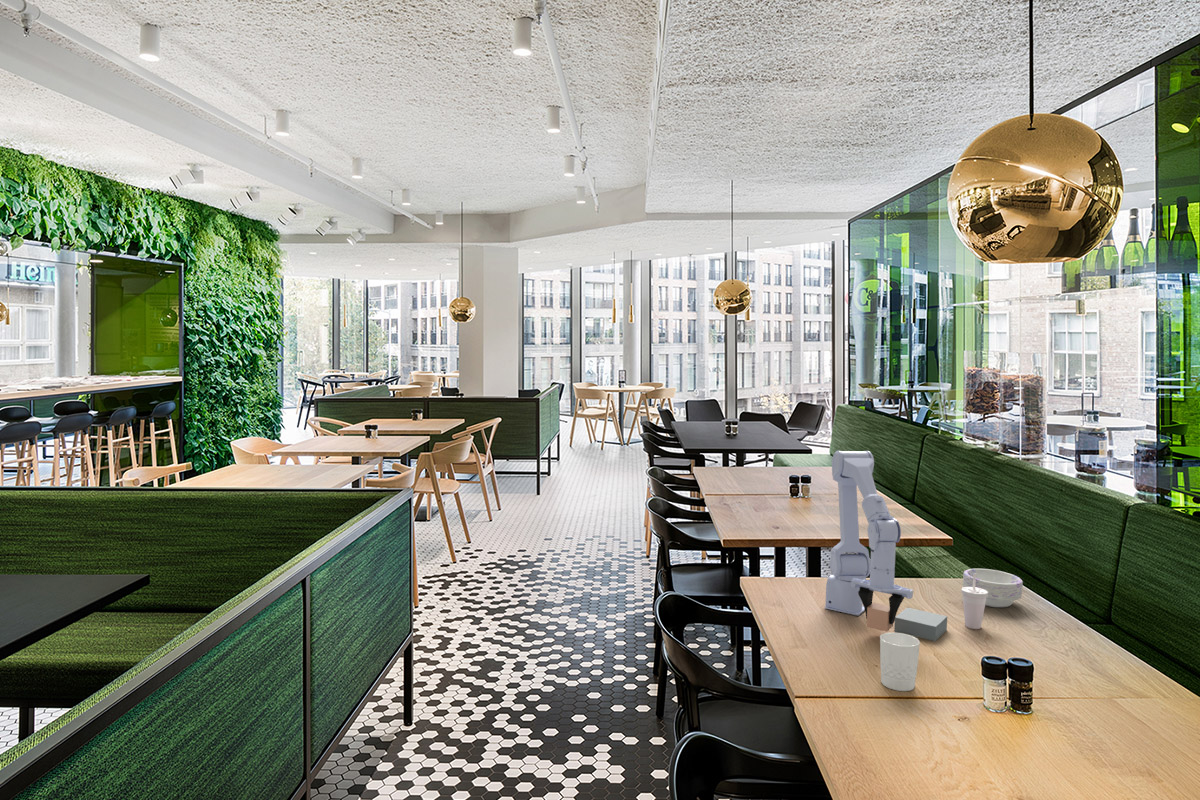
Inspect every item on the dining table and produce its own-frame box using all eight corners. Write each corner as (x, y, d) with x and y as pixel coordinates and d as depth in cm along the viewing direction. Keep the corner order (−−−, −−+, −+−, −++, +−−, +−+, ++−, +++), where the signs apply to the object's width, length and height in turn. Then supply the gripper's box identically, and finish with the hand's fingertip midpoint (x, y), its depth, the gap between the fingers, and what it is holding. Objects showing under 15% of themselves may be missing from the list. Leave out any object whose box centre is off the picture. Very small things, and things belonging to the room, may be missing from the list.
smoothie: (980, 622, 202) (983, 570, 201) (990, 631, 196) (993, 578, 195) (955, 621, 203) (958, 569, 202) (964, 630, 196) (967, 576, 196)
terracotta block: (866, 627, 191) (867, 607, 190) (872, 621, 195) (873, 602, 194) (887, 631, 188) (887, 611, 187) (893, 625, 192) (893, 606, 191)
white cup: (916, 680, 166) (918, 635, 165) (918, 695, 158) (920, 648, 158) (877, 674, 168) (879, 630, 168) (878, 689, 161) (880, 643, 160)
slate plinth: (894, 632, 195) (894, 617, 195) (906, 622, 203) (907, 607, 203) (935, 642, 189) (935, 626, 189) (946, 631, 197) (947, 616, 196)
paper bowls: (1032, 612, 212) (1034, 583, 211) (977, 610, 212) (978, 582, 211) (1004, 594, 227) (1005, 568, 226) (952, 593, 227) (954, 567, 226)
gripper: (848, 565, 191) (845, 618, 192) (908, 576, 183) (905, 631, 183) (857, 559, 197) (855, 610, 198) (916, 570, 188) (913, 623, 189)
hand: (880, 620), depth 191 cm, fingers closed on terracotta block, 5 cm apart
